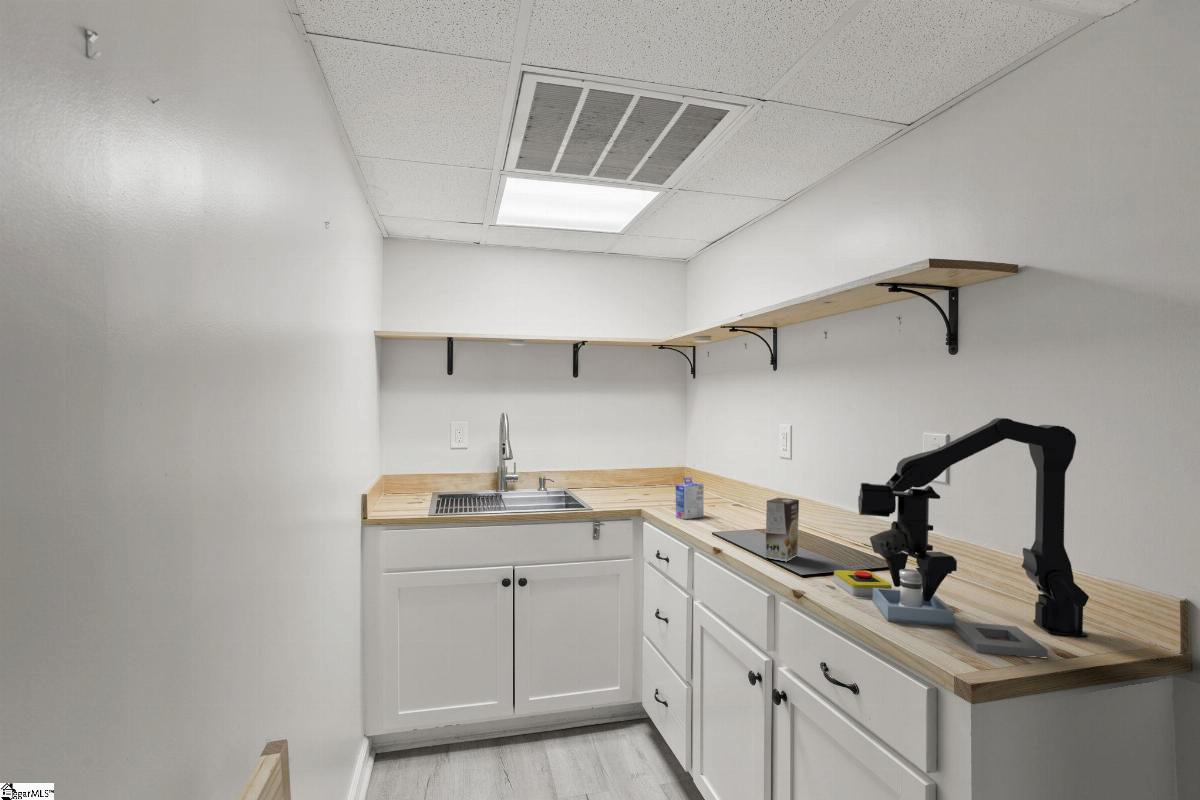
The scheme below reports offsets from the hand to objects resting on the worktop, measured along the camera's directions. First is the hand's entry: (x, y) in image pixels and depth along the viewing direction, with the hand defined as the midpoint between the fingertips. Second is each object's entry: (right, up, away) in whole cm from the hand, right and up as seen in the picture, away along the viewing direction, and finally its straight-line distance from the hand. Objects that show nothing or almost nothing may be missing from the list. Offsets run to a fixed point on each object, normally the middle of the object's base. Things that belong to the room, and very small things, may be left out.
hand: (911, 593), depth 123 cm
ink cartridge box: (-31, -4, +97) cm, 102 cm away
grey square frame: (+8, -4, -14) cm, 17 cm away
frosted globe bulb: (0, -4, 0) cm, 4 cm away
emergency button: (-3, -5, +16) cm, 17 cm away
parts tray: (0, -4, 0) cm, 4 cm away
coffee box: (-14, -4, +42) cm, 45 cm away
